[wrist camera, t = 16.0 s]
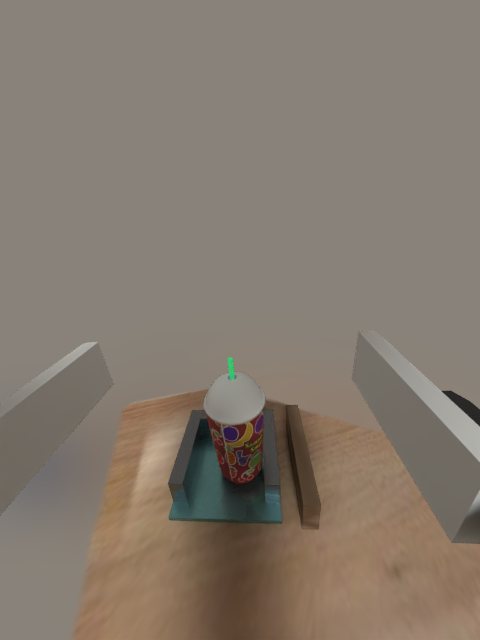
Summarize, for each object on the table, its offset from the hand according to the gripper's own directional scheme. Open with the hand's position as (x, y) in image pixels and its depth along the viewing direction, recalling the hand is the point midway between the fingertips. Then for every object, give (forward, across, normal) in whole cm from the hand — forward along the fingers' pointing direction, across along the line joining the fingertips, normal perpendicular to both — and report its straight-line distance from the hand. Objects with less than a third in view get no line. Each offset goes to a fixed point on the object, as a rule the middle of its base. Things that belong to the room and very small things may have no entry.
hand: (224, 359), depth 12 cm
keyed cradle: (+14, -4, -30) cm, 33 cm away
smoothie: (+14, -2, -29) cm, 33 cm away
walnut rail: (+14, +7, -30) cm, 34 cm away
